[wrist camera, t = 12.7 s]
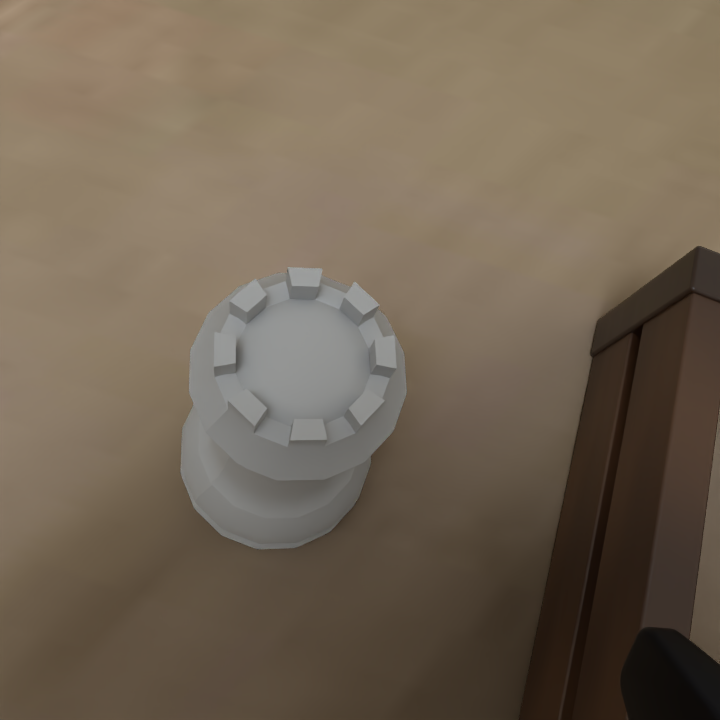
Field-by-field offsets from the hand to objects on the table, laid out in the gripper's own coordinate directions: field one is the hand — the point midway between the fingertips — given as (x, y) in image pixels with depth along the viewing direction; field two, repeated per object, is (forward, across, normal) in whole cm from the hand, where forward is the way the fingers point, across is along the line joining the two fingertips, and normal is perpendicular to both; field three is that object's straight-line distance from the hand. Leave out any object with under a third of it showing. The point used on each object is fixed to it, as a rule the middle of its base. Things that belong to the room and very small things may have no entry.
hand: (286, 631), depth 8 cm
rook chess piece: (+8, 0, +3) cm, 9 cm away
